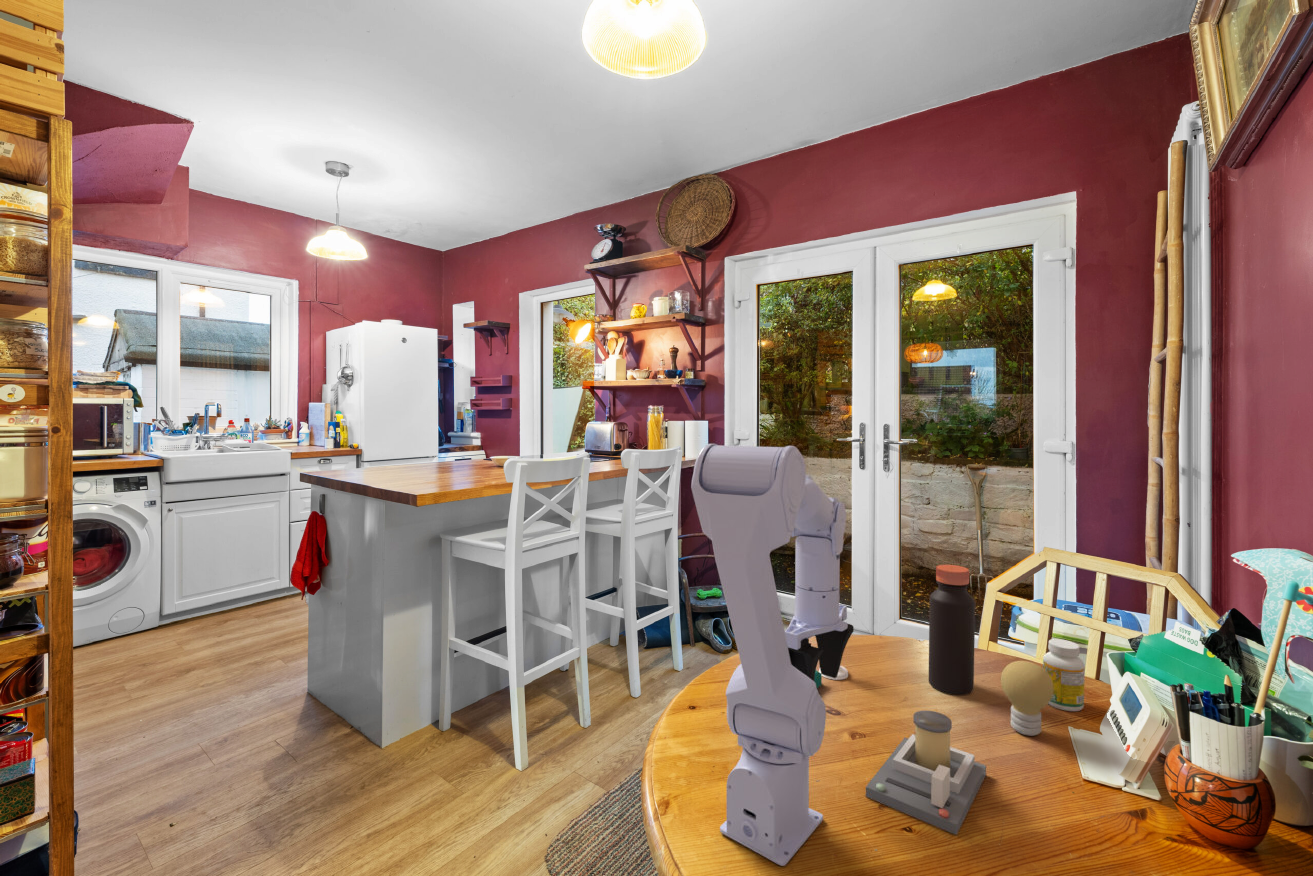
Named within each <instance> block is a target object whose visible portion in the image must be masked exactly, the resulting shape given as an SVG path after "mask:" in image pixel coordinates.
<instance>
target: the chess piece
mask: <svg viewBox="0 0 1313 876" xmlns="http://www.w3.org/2000/svg"><path fill="white" fill-rule="evenodd" d="M818 672H819V673H821V670H820V667H819V670H818ZM822 677H823V678H825V679H828V680H834V681H842V680H846V679H847V678H848V677H849V671H848V669H847V668H846V667H845V666H843V665H840V668H839V672H838V675H837V677H836V678H833V677H829V676H826V675H823V674H822Z"/></svg>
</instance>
